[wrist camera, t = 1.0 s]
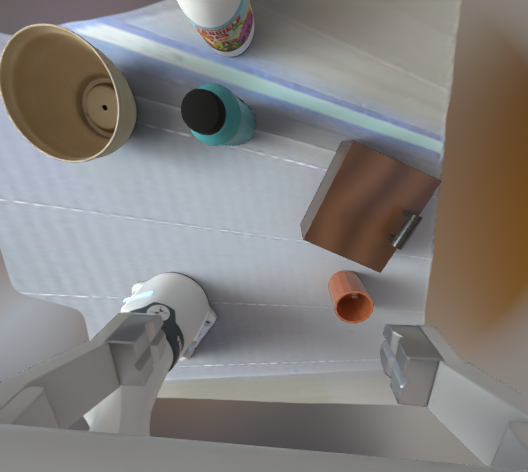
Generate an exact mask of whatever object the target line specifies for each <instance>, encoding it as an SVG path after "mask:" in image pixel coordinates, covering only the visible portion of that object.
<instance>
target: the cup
mask: <svg viewBox="0 0 528 472" xmlns="http://www.w3.org/2000/svg"><path fill="white" fill-rule="evenodd" d="M328 288H329V292H330V296H331V299H332V303H333V306H334V310H335V313H336V315H337V316H338V317H339V318H340V319H341V320H342V321H345V322H347V323H358V322H362V321H364V320H366V319H367V318H369V316H370V315H371V313H372V312H373V307H374V304H373V301H372V299H371V297H370V295H369V293H368V291H367V290H366V288H365V286H364V284H363V282H362V280H361V279H360V277H359V276H358V275H357V274H355V273H354V272H351V271H340V272H338V273H336V274H334V275H333V276H332V277H331V279H330V280H329V283H328Z"/></svg>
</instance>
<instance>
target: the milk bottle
mask: <svg viewBox="0 0 528 472" xmlns="http://www.w3.org/2000/svg"><path fill="white" fill-rule="evenodd" d="M177 1H178V3H179V5H180V7H181V8H182V10H183V11H184V13H185V14H186V16H187V17H188V19H189V20H190V21H191V23H192V24H193V25H194V27H195V28H196V29H197V31H198V32H199V33H200V34H201V36H202V37H203V38H204V40H205V41H206V42H207V43H208V45H209V46H210V47H211V48H212V49H213V50H214V51H215V52H216V53H218V54H220V55H222V56H225V57H233V56H237V55H239V54H241V53H242V52H244V51H245V50H246V49H247V48H248V46H249V45H250V43H251V41H252V38H253V35H254V29H255V23H254V16H253V12H252V8H251V4H250V0H177Z"/></svg>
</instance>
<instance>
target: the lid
mask: <svg viewBox="0 0 528 472" xmlns="http://www.w3.org/2000/svg"><path fill="white" fill-rule="evenodd" d="M440 183H441V180H438V179H436V178H434V177H432V176H430V175H427V174H425V173H423V172H421V171H419V170H417V169H414V168H412V167H410V166H408V165H406V164H403V163H401V162H399V161H397V160H395V159H393V158H390V157H388V156H386V155H384V154H382V153H380V152H377V151H375V150H373V149H371V148H369V147H366V146H364V145H362V144H360V143H358V142H356V141H352V142H351V144H350V146H349V148H348V150H347V152H346V154H345V156H344V158H343V160H342V162H341V164H340V165H339V167H338V169H337V171H336V173H335V175H334V177H333V179H332V181H331V183H330V185H329V187H328V189H327V191H326V193H325V195H324V197H323V199H322V201H321V203H320V205H319V207H318V209H317V211H316V212H315V214H314V216H313V218H312V220H311V222H310V224H309V226H308V228H307V230H306V232H305V234H304V236H303V240H305V241H308V242H310V243H312V244H315V245H317V246H319V247H322V248H324V249H326V250H329V251H331V252H333V253H336V254H338V255H340V256H343V257H345V258H347V259H350V260H352V261H354V262H357V263H359V264H361V265H363V266H366V267H368V268H370V269H373V270H375V271H377V272H380V273H381V271H382V270H383V268H384V267H385V265H386V264H387V262H388V261H389V259H390V258H391V256H392V255H393V253H394V252H395V250H396V249H400V250H401V249H402V248H403V246H404V245H405V243H406V242H407V240H408V239H409V237H410V236H411V234H412V233H413V232H414V230H415V229H416V227H417V226H418V224H419V223H420V221H421V220H422V217H420V216H419V214H420V213H421V211H422V210H423V208H424V207H425V205H426V204H427V202H428V201H429V199H430V198H431V196H432V195H433V193H434V192H435V190H436V189H437V187H438V186H439V184H440Z"/></svg>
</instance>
